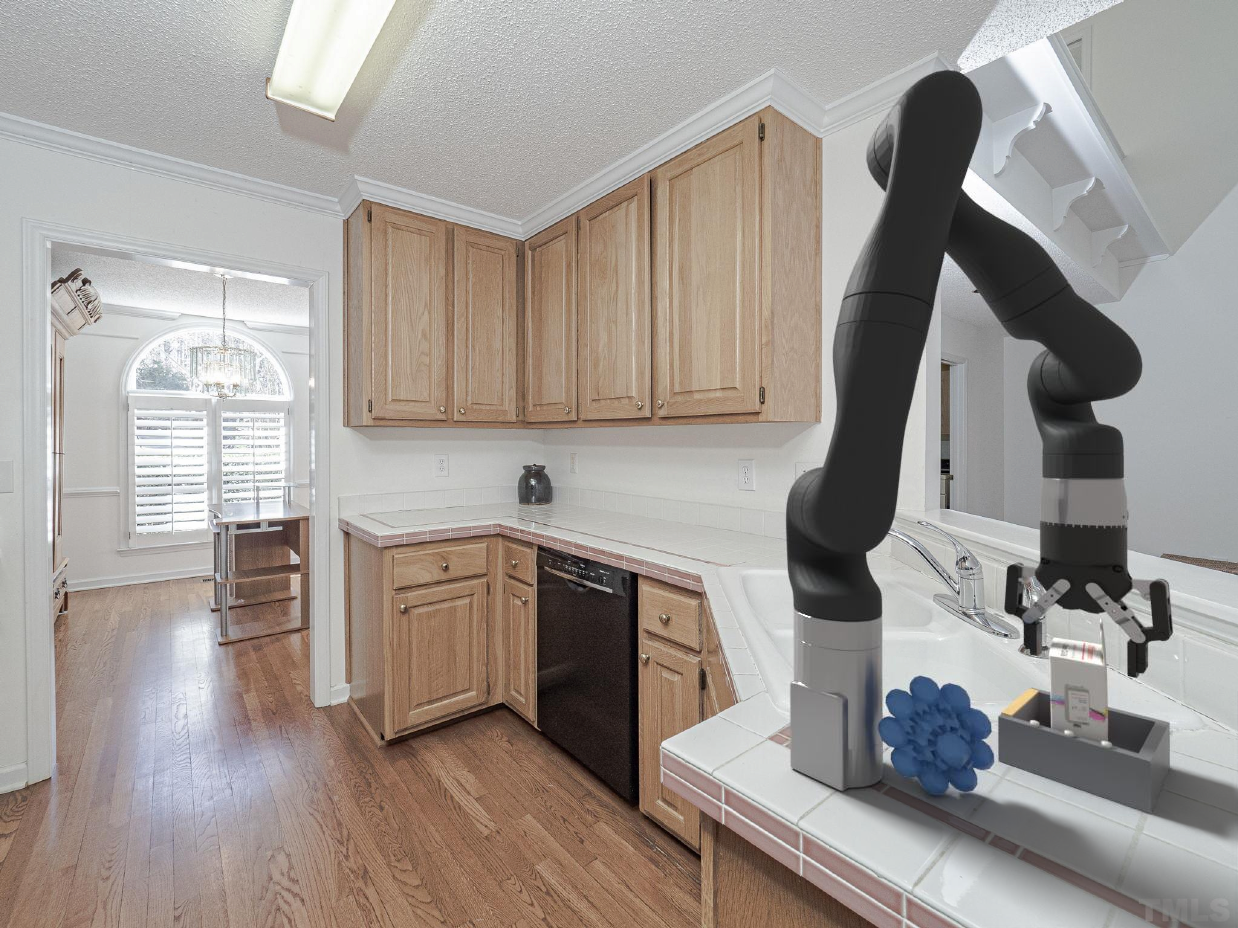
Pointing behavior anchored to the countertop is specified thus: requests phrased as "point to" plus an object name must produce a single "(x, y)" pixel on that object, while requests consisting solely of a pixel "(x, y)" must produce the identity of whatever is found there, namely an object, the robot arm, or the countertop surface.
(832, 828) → the countertop surface
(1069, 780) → the cartridge dock
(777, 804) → the countertop surface
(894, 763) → the blue flower
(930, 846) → the countertop surface
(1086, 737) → the ink cartridge box
